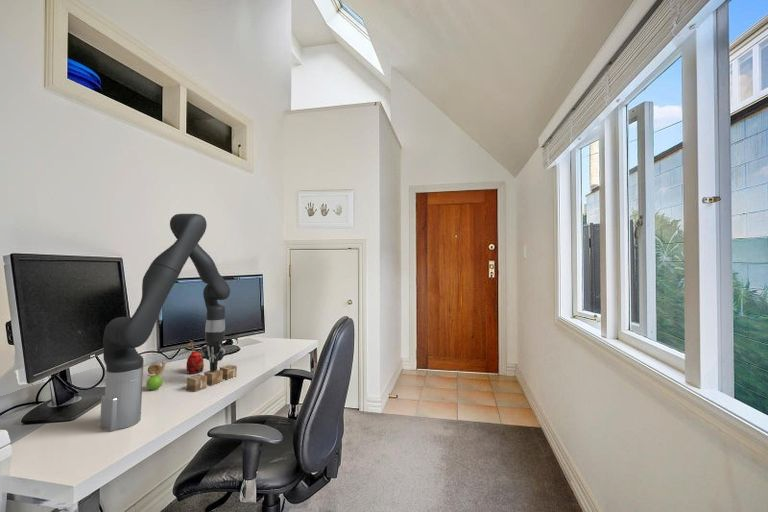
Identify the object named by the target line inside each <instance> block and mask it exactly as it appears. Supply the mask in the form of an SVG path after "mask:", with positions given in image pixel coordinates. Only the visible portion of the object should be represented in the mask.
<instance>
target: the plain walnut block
mask: <svg viewBox="0 0 768 512" xmlns="http://www.w3.org/2000/svg"><path fill="white" fill-rule="evenodd" d="M203 375H205V376H207V386H210V385H211V386H210V387H213V386H216V385H219V384H221V383H220V382H222V383H223V379H222V376H223V371H221V370H219V369H217V370H216V371H210V370H208V371H204V373H203ZM218 383H219V384H218ZM215 384H216V385H215Z"/></svg>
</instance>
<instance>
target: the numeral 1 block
mask: <svg viewBox="0 0 768 512" xmlns="http://www.w3.org/2000/svg"><path fill="white" fill-rule="evenodd" d="M207 386H208V385H207V376H205V375H204V374H201V373H200V374H198V373H196V374H195V375H194V374H193V375H192V376H191V375H190V376H188V377H186V390H187V391H188V392H193V393H196V392H199V391H202V390H205V389H207Z"/></svg>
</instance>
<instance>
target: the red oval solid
mask: <svg viewBox="0 0 768 512" xmlns="http://www.w3.org/2000/svg"><path fill="white" fill-rule="evenodd" d="M189 341H190V343H187V345H188V346H191V349H192V352H191V354H190V355H189V356H188V358H187V359H186V360H187V361H186V366H185V367H186V372H187V373H188V374H190V375H191V374H192V375H194V374H195V375H196V374H198V373H201V372H203V371H204V367H205V363H204V359H203V357H202V354H201V353H200V351H198V352H197V351H196V352H195V350H194V349H195V348H194V345H193V343H194V341H192V340H191V339H189Z"/></svg>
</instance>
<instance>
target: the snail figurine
mask: <svg viewBox="0 0 768 512" xmlns="http://www.w3.org/2000/svg"><path fill="white" fill-rule="evenodd" d="M164 359H165V360H163V361H162V362H161V363H162V364H160V363H157V362H155V363H151V364H150V365H149V366H148V367H147V376H148V377H149V378H148V379H147V380H146V384H145V385H146V388H147V389H148V390H151V391H155V390H158V389H159V388H160V387H162V386H163V382H164V380H163V377H162V376H161V374H162V373H163V372H164V370H165V367H166V364H167V357H164Z"/></svg>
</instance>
